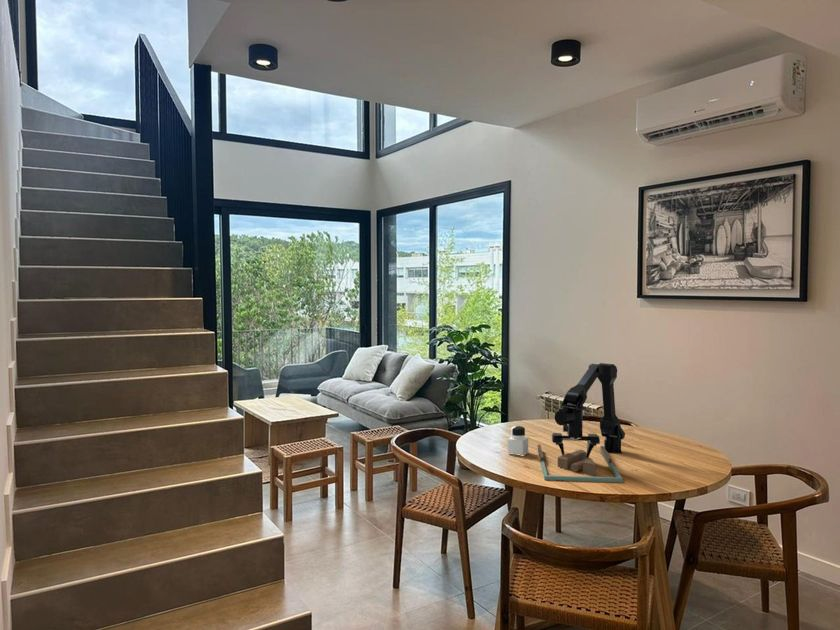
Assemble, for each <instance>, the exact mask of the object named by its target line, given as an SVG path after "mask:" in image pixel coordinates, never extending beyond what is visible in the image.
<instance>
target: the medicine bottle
mask: <svg viewBox="0 0 840 630" xmlns="http://www.w3.org/2000/svg"><path fill="white" fill-rule="evenodd" d="M527 452H528V453H529V436H526V428H525V427H524V426H520V425H515V426H512V427H511V428H510V437H509V438H507V454H508V453H513V454H520V455H524V454H525V453H527ZM528 453H527V454H528ZM524 456H525V455H524Z"/></svg>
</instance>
